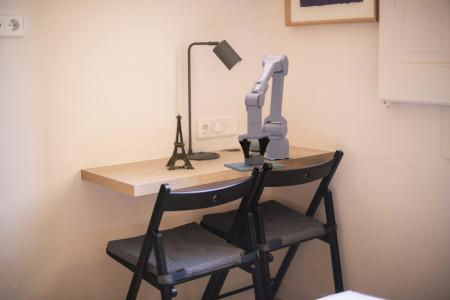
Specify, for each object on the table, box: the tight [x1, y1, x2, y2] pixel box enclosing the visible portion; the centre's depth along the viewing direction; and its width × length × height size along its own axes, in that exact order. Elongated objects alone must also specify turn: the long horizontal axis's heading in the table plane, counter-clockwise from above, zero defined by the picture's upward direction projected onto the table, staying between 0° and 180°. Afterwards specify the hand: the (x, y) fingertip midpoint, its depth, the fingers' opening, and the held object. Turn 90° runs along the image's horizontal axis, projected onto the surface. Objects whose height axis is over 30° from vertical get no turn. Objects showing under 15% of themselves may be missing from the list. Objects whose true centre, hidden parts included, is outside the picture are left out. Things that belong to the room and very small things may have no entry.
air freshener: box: [248, 137, 260, 153], centre depth 309 cm, size 11×8×10 cm
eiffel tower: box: [164, 114, 195, 171], centre depth 267 cm, size 11×11×25 cm
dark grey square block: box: [244, 153, 265, 166], centre depth 270 cm, size 6×6×4 cm
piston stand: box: [224, 152, 286, 173], centre depth 270 cm, size 20×14×5 cm
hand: (254, 157), depth 270 cm, fingers open, 7 cm apart
